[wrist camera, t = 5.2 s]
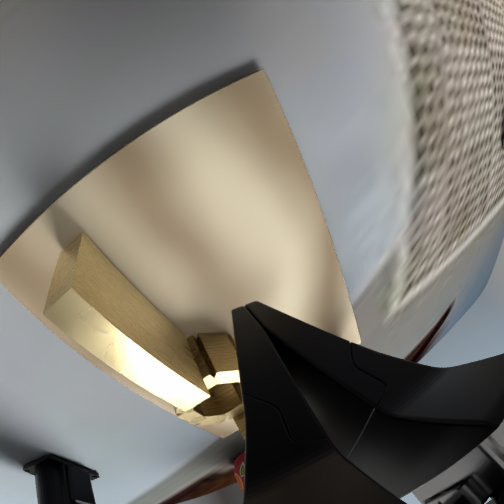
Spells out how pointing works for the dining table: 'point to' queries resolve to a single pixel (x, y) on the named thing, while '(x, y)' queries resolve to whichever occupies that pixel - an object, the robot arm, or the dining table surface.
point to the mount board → (198, 225)
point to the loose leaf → (121, 325)
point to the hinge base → (216, 381)
